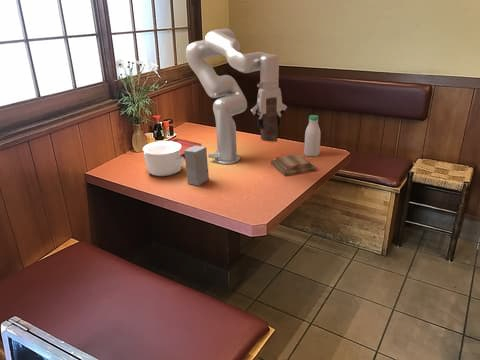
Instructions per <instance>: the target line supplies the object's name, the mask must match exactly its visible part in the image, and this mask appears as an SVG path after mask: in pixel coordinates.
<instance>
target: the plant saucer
mask: <svg viewBox="0 0 480 360" xmlns="http://www.w3.org/2000/svg"><path fill="white" fill-rule="evenodd" d="M171 141H173V142H177V143H179V144H181V149H180V150H179V151H180V156H182V157H183V156H184V157H185V154H184V150H186V149H188V148H190V147H193V146H195V145H196V146H202V144H203V143H199V142H195V141H191V140H186V139H182V138H179V137H178V138H174V139H172V140H171ZM184 157H183V158H184Z"/></svg>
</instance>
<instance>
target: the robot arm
mask: <svg viewBox="0 0 480 360" xmlns="http://www.w3.org/2000/svg"><path fill="white" fill-rule="evenodd" d="M240 51H241V44H240V42H239V41H238V39H237V38H236V34H235V32H234V31H233V30H232V29H229V28H219V29H212V30H210V31H209V32H207V34H206V35H205V38H204V40H203V39H202V40H196V41H193V42H191V43H189V44H188V45H187V46H186V50H185V57H186V61H187V64H188V65H189V67H190V69H191V70H192V71H193V72H194V74H195V76H196V77H197V79H198V80H199V82H200V84H201V85H202V87H203V88H204V91H205V93H206V95H207V96H208V97H210V98H211V99H216V98H217V99H216V100H215V101H214V102H213V104H212V110H213V114H214V119H215V127H216V129H215V130H216V145H217V146H216V147H217V148H216V149H217V150H215V152H214V153H208V154H207V158H209V159H212V160H214V161H215V162H216V163H218V164H221V165H231V164H236V163H238V162H239V161H240V159H241V156H240V155H239V154H238V152H237V149H238V147H237V125H236V123H235V120H234V118H233V116H235V115H238V114H241V113H245V111H246V110H247V108H248V101H247V99H246V97H245V94H244V93H243V91H242V89H241V87H240V86H239V84H238V82H237V81H236V80H235V78H234V77H232V76H231V75H229V74H223V75H218V74H217V73H216V71H215V69H214V67H213V66H212V65H211V64H210V63H208V62H207V61H205V60H207V59H214V58H217V57H219V56H223V57H225V58H226V60H227V63H228V64H229V65H228V66H230V67H231V68H233V69H234V70H236V71H238V72H240V73H243V74H249V73H253V72H258V71H259V72H260V75H259V76H260V78H259V80H260V81H259V83H256V84H257V85H256V87H257V88H258V93H257V98H256V99H257V101H256V104H255V105H254V107H252V108H251V109H250V112H251V113H252V114H253V116H255V117H256V119H257V126H258V127H259V129H261V128H263V120H262V116H263V114H266V99H268V98H275V97H277V127H280V124H281V117H282V115H283V114H284V113H285V111H286V110H287V108H288V106H287V105H286V104H284V103H283V97H282V91H281V88H280V87H279V75H280V74H279V71H280V57H279V56H278V55H277V54H272V53H266V52H264V51H256V52H249V53H242V52H240ZM256 111H258V113H257V112H256Z"/></svg>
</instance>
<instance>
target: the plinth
mask: <svg viewBox="0 0 480 360" xmlns="http://www.w3.org/2000/svg"><path fill="white" fill-rule="evenodd" d="M270 164H271V166H273V167H274V168H275V169H276V170H277V171H279V172H280V173H281V174H282V175H283V176H285V177H287V176H293V175H298V174H299V175H300V174H304V173H310V172H316V171H317V166H316V165H314V164H313V163H311V161H310V160H308V159H306V158H305V157H304V156H302V155H301V154H299V153H297V154H295V153H294V154H291V155H290V154H289V155H285V156H284V155H283V156H278V157H276V158H275V159H274V160H273V159H272V160H270Z"/></svg>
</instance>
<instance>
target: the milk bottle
mask: <svg viewBox="0 0 480 360" xmlns="http://www.w3.org/2000/svg"><path fill="white" fill-rule="evenodd" d="M305 128H306V129H305V132H304V150H303V151H304V155H305V156H307V157H318V156H319V155H320V153H321V133H322V132H321V129H320V126H319V115H317V114H310V115H309V116H308V124H307V127H305Z"/></svg>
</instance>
